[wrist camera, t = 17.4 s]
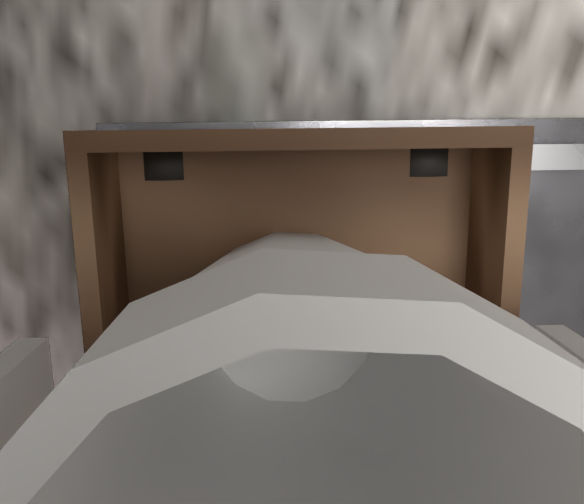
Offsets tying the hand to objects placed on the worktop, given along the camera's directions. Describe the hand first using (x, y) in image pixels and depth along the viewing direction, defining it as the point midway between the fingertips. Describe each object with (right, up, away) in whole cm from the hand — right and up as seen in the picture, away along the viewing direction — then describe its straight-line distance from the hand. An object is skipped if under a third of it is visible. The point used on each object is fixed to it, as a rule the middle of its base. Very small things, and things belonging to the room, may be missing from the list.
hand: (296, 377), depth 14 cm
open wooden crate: (0, +1, +7) cm, 7 cm away
